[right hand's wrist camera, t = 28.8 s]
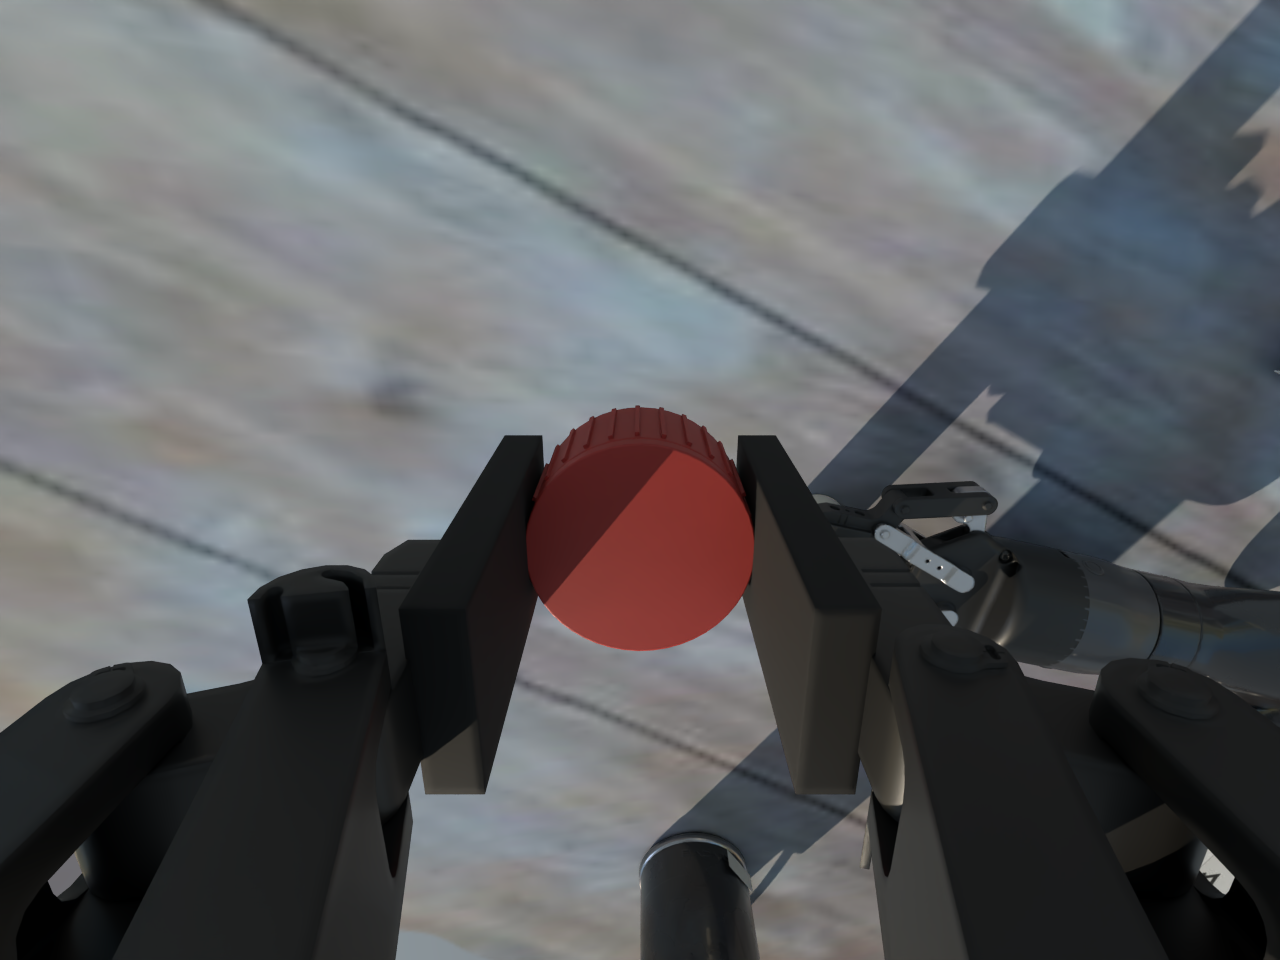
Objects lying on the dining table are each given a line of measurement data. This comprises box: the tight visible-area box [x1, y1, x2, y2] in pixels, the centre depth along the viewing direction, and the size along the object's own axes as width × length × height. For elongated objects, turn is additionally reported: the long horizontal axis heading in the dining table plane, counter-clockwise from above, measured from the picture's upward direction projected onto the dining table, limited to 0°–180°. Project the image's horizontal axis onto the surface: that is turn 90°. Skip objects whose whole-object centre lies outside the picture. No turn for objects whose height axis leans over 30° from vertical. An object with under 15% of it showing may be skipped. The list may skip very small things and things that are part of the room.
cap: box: [526, 406, 754, 651], centre depth 13 cm, size 4×4×2 cm
